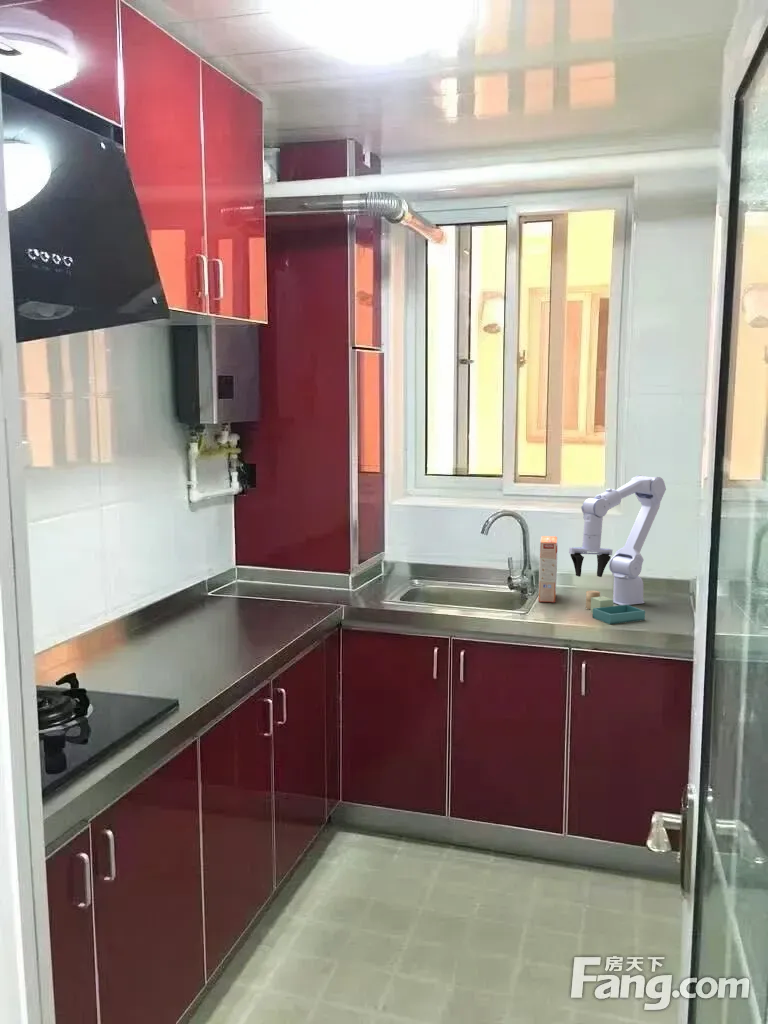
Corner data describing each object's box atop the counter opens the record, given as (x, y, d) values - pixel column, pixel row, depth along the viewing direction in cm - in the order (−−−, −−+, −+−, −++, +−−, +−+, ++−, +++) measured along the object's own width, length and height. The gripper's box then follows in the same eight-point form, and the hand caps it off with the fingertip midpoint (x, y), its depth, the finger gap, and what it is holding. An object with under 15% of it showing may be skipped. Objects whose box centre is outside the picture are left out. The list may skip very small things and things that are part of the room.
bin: (626, 613, 281) (626, 604, 281) (644, 620, 273) (645, 610, 272) (592, 617, 276) (592, 608, 276) (610, 624, 268) (610, 614, 267)
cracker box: (556, 603, 296) (557, 542, 293) (538, 602, 297) (539, 541, 295) (556, 594, 310) (557, 535, 307) (539, 593, 311) (540, 535, 308)
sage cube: (603, 611, 285) (603, 596, 284) (612, 614, 280) (613, 599, 280) (590, 612, 283) (590, 597, 282) (599, 616, 278) (600, 600, 278)
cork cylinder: (594, 606, 291) (594, 590, 291) (602, 609, 287) (602, 592, 287) (583, 607, 290) (583, 591, 289) (591, 610, 286) (591, 593, 285)
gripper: (577, 535, 280) (574, 577, 281) (618, 537, 283) (614, 578, 284) (567, 533, 286) (564, 574, 288) (607, 534, 290) (604, 575, 291)
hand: (588, 576), depth 286 cm, fingers open, 7 cm apart
